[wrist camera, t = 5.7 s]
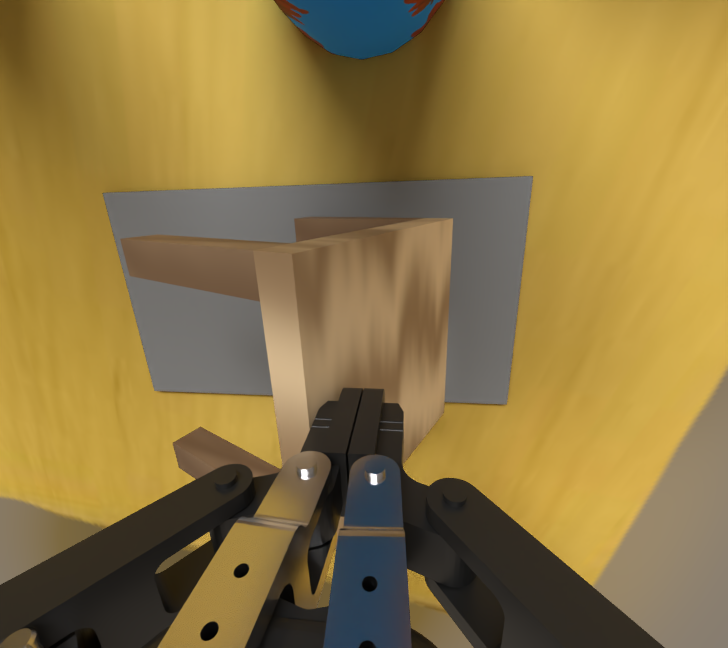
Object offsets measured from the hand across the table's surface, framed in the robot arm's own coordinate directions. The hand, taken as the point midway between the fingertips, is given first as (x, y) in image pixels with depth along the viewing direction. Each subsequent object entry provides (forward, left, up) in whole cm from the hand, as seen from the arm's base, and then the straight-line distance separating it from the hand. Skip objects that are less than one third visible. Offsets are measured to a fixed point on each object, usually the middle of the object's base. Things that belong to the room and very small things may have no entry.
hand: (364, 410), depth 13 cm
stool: (0, -1, -11) cm, 11 cm away
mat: (0, -6, -14) cm, 15 cm away
